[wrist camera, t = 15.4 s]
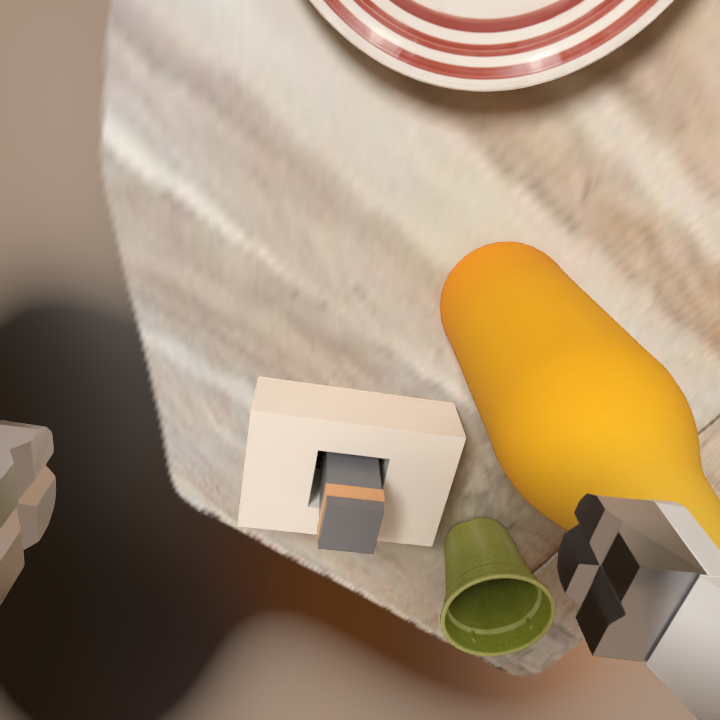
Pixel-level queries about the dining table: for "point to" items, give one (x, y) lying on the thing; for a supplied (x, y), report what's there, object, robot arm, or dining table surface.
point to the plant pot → (491, 592)
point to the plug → (349, 503)
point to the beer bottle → (569, 390)
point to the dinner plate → (488, 37)
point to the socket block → (348, 436)
